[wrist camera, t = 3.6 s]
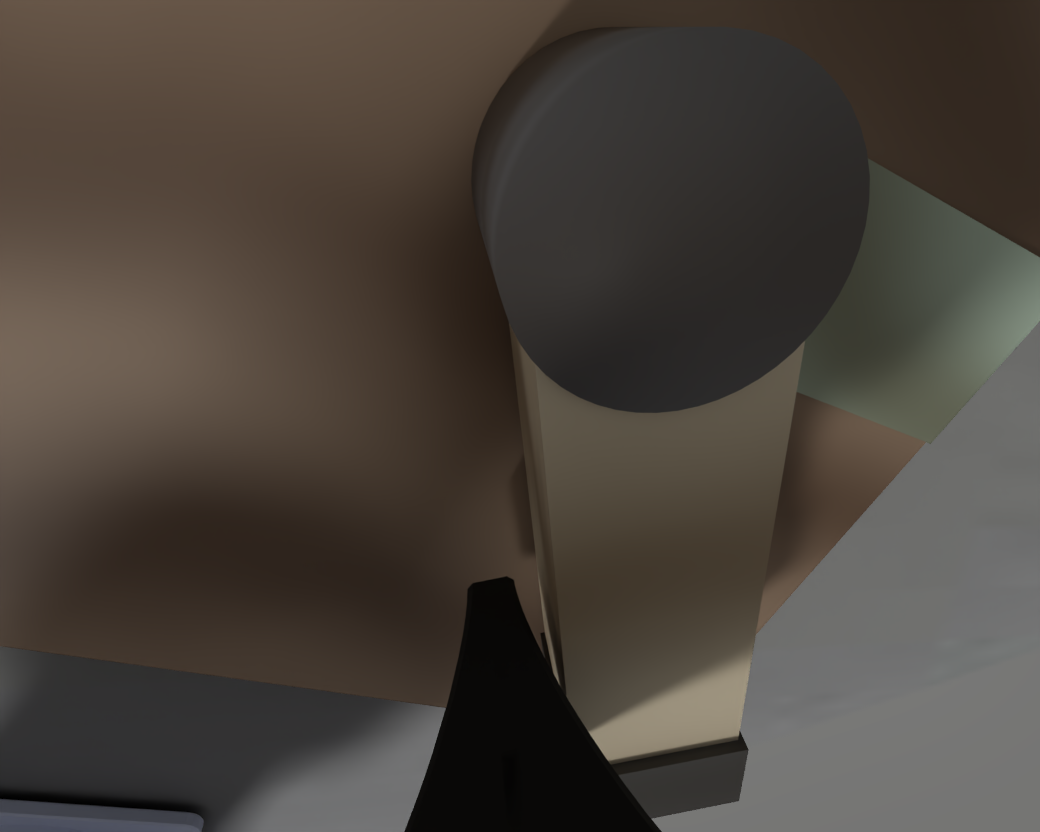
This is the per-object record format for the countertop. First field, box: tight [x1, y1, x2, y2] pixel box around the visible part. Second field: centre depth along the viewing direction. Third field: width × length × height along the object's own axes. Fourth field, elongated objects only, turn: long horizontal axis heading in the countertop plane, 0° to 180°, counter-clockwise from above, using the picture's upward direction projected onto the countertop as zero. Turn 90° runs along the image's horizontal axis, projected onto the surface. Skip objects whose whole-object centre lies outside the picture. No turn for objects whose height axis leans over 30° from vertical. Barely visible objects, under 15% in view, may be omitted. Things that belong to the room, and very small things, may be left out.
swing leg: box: [471, 27, 870, 818], centre depth 10 cm, size 13×4×3 cm, turn 6°
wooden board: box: [0, 0, 1040, 708], centre depth 11 cm, size 18×18×2 cm
